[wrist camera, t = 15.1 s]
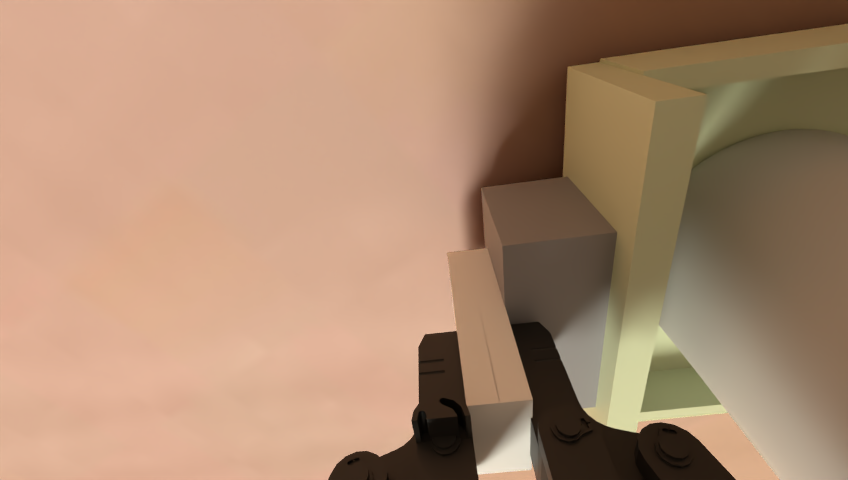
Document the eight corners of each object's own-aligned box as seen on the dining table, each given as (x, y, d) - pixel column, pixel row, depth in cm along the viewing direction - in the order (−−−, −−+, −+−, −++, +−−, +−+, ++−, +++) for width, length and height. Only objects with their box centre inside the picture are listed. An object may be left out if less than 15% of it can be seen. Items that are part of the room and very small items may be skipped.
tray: (472, 76, 13) (504, 116, 8) (1160, -21, 12) (1645, -38, 7) (492, 382, 20) (516, 498, 15) (924, 337, 19) (1091, 446, 14)
